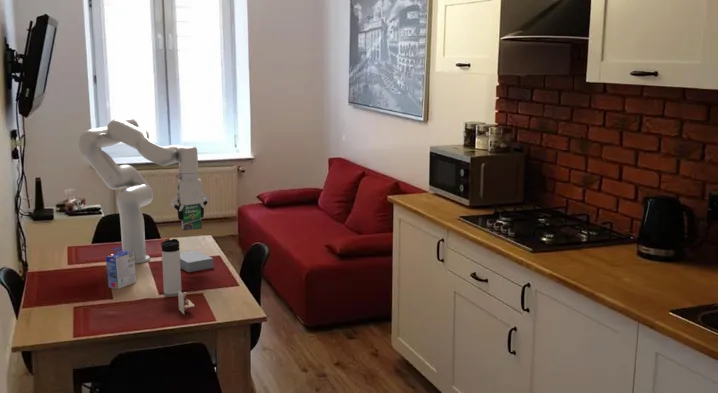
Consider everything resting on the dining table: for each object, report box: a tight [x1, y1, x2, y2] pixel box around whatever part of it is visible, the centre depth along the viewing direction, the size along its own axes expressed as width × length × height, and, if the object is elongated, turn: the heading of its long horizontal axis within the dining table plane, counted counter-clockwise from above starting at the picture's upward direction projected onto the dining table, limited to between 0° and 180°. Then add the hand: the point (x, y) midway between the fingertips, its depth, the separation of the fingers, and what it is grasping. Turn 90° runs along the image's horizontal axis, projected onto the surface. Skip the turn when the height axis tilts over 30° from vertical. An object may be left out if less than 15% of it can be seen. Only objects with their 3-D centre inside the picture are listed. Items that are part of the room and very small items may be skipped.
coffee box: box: [180, 204, 203, 231], centre depth 298 cm, size 8×3×13 cm, turn 116°
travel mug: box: [161, 238, 183, 298], centre depth 264 cm, size 6×7×20 cm
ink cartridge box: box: [105, 246, 137, 290], centre depth 275 cm, size 10×6×14 cm, turn 155°
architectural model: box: [177, 291, 195, 315], centre depth 247 cm, size 3×7×7 cm, turn 30°
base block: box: [180, 250, 214, 273], centre depth 302 cm, size 11×16×4 cm
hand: (191, 218), depth 298 cm, fingers closed on coffee box, 8 cm apart
